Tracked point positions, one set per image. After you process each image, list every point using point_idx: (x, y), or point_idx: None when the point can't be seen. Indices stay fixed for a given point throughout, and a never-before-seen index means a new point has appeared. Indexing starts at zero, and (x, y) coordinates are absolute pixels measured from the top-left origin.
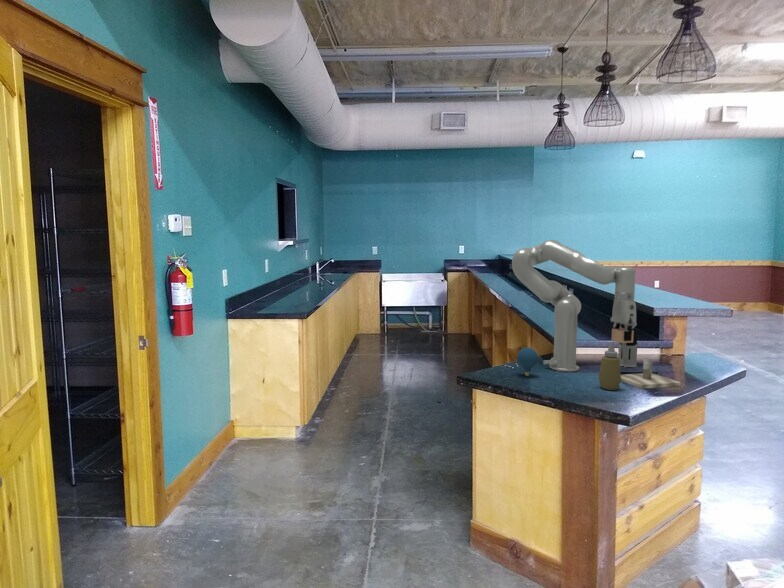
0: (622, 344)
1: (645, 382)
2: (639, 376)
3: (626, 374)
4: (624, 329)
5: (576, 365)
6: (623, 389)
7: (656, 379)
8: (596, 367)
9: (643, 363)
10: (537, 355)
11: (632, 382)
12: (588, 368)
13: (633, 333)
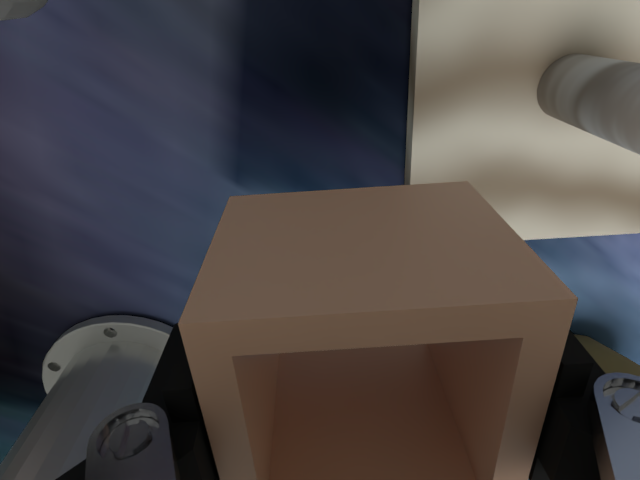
0: (5, 19)
1: (637, 169)
2: (495, 101)
3: (416, 162)
4: (262, 344)
5: (112, 327)
6: (606, 312)
7: (619, 20)
8: (82, 182)
9: (623, 147)
10: None
11: (579, 233)
12: (121, 251)
13: (540, 260)
